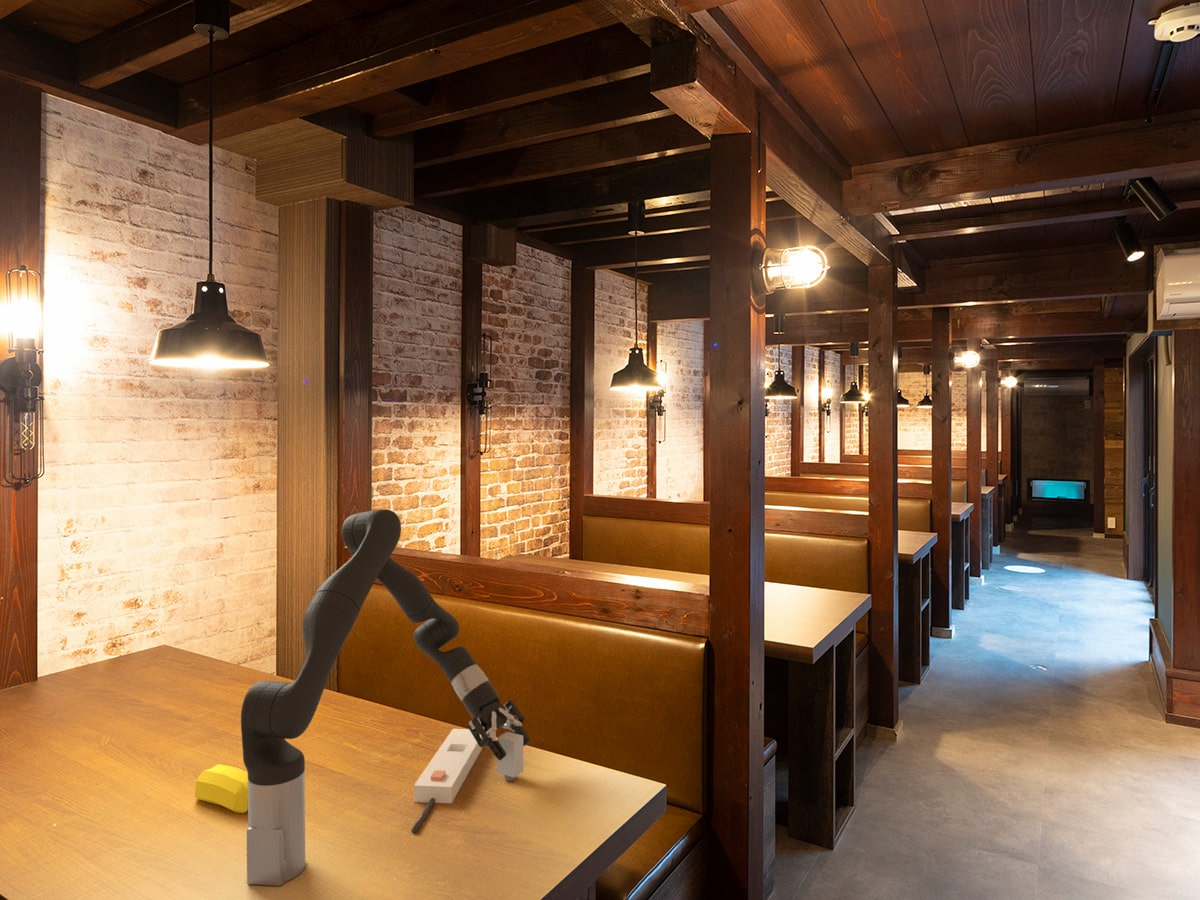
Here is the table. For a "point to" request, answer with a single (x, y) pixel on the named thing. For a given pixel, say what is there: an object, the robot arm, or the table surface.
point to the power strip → (446, 771)
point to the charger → (511, 755)
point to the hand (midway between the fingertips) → (515, 750)
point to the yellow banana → (224, 787)
